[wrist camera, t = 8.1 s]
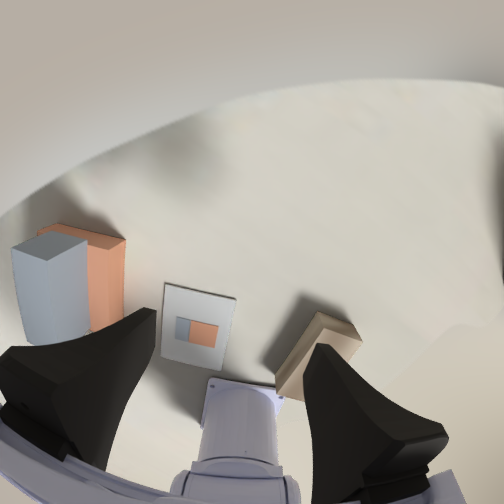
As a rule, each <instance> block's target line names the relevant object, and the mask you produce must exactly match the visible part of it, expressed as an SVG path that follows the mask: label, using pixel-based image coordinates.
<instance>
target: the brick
mask: <svg viewBox="0 0 504 504" xmlns="http://www.w3.org/2000/svg"><path fill="white" fill-rule="evenodd" d="M316 343H324V344H329V345H330V346H332V347H333V348H334V349H335V350H336V351H337V352H338V354H339V355H340V356H341V357H342V358H343V359H344V360H345V361H346V362H347V363H348V362H349V360H350V359H351V358H352V356H353V355H354V354H355V352H356V351H357V350H358V348H359V347H360V346H361V344H362V343H363V341H362V339H361V337H360V335H359V334H358V332H357V330H356V328H355V327H354V325H352V324H349V323H347V322H344V321H341V320H339V319H336V318H334V317H331V316H329V315H326V314H324V313H321V312H319V311H317V312H316V314H315V315H314V317H313V319H312V320H311V322H310V323H309V325H308V327H307V328H306V330H305V331H304V333H303V334H302V336H301V337H300V339H299V340H298V342H297V343H296V345H295V346H294V348H293V349H292V351H291V352H290V354H289V355H288V357H287V358H286V360H285V361H284V363H283V364H282V365H281V367H280V368H279V370H278V371H277V372H276V374H275V385H276V394H277V395H280V396H284V397H288V398H292V399H295V400H299V401H304V402H305V399H304V394H303V373H304V371H305V369H306V366H307V364H308V362H309V359H310V357H311V355H312V352H313V350H314V348H315V345H316Z"/></svg>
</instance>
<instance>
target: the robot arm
mask: <svg viewBox="0 0 504 504" xmlns="http://www.w3.org/2000/svg"><path fill="white" fill-rule="evenodd" d="M156 313H157V311H156V310H153V309H149V308H145V307H143V308H141V309H139V310H137V311H136V312H134V313H132V314H130V315H128V316H127V317H125V318H123V319H121V320H119V321H117V322H115V323H114V324H111V325H109V326H107V327H105V328H103V329H101V330H98V331H96V332H94V333H91V334H88V335H86V336H83V337H80V338H76V339H73V340H68V341H64V342H60V343H55V344H48V345H39V346H11V347H10V348H9V349H8V350H6V351H5V352H4V353H3V354H2V355H1V356H0V390H1V392H2V394H3V396H4V398H5V400H6V401H7V402H6V403H5V404H4V406H2V405H1V403H0V475H1V476H3V477H4V478H5V479H6V480H7V481H9V482H10V483H11V484H13V485H14V486H15V487H17V488H18V489H19V490H20V491H22V492H23V493H25V494H26V495H27V496H29V497H30V498H32V499H33V500H34V501H36V502H37V503H39V504H301V495H300V489H299V485H298V483H297V481H296V480H294V479H293V478H292V477H291V476H289V475H287V476H283V471H282V470H283V469H282V466H278V449H277V430H276V417H277V415H278V413H279V411H280V409H281V407H282V404H283V402H284V400H285V398H286V397H284V396H280V395H277V394H276V388H273V387H265V386H259V385H252V384H246V383H240V382H234V381H229V380H224V379H219V378H213V377H212V378H210V379H209V381H208V386H207V391H206V397H205V403H204V408H203V414H202V420H201V426H200V428H201V429H202V430H203V434H202V439H201V444H200V450H199V455H198V461H193V462H192V466H191V471H189V470H183V471H181V472H180V473H179V474H178V475H176V476H175V478H174V480H173V482H172V485H171V488H170V493H168V492H164V491H160V490H157V489H153V488H150V487H146V486H143V485H140V484H137V483H134V482H131V481H128V480H125V479H123V478H120V477H117V476H115V475H112V474H110V473H107V472H105V471H106V466H107V462H108V458H109V454H110V451H111V447H112V444H113V441H114V437H115V434H116V431H117V428H118V425H119V422H120V420H121V417H122V414H123V412H124V409H125V406H126V404H127V402H128V400H129V398H130V396H131V394H132V392H133V391H134V389H135V387H136V385H137V383H138V382H139V380H140V378H141V376H142V374H143V373H144V371H145V369H146V367H147V365H148V363H149V361H150V358H151V356H152V353H153V351H154V348H155V334H156ZM212 385H214V386H212ZM303 394H304V399H305V405H306V410H307V415H308V420H309V425H310V430H311V437H312V450H313V486H312V487H313V488H312V499H311V504H466V502H465V499H464V497H463V494H462V492H461V490H460V488H459V485H458V483H457V481H456V479H455V477H454V474H453V472H452V470H451V469H449V470H446V471H444V472H441V473H438V474H436V475H433V476H432V477H430V478H428V479H427V477H426V473H428V472H429V468H428V466H427V464H428V463H429V462H431V461H432V460H433V459H434V458H435V457H436V456H437V455H438V454H439V453H440V452H441V451H442V450H443V449H444V448H445V446H446V445H447V443H448V440H449V437H448V435H447V433H446V431H445V429H444V427H443V426H442V424H441V423H438V422H435V421H432V420H429V419H426V418H423V417H421V416H419V415H417V414H414V413H412V412H410V411H408V410H406V409H404V408H403V407H401V406H399V405H397V404H396V403H394V402H392V401H391V400H389V399H388V398H386V397H385V396H384V395H382V394H381V393H380V392H378V391H377V390H376V389H374V388H373V387H372V386H371V385H370V384H369V383H367V382H366V381H365V380H364V379H363V378H362V377H361V376H360V375H359V374H358V373H357V372H356V371H355V370H354V369H353V368H352V367H351V366H350V365H349V364H348V363H347V362H346V361H345V360H344V359H343V358H342V357H341V356H340V355H339V354H338V352H337V351H336V350H335V349H334V348H333V347H332V346H330V345H329V344H324V343H316V345H315V348H314V350H313V352H312V355H311V357H310V359H309V362H308V364H307V366H306V369H305V371H304V373H303Z"/></svg>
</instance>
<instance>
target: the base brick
mask: <svg viewBox="0 0 504 504" xmlns="http://www.w3.org/2000/svg"><path fill="white" fill-rule="evenodd" d="M49 231H56V232H59V233H63V234H67V235H71V236H75V237H78V238H82V239H86V240H88V241H87V276H88V299H89V312H90V323H91V328H90V329H89V330H91V331H94V332H96V331H98V330H101V329H103V328H105V327H107V326H109V325H111V324H114V323H115V322H117V321H119V320H121V319H123V318H124V314H123V291H124V261H125V244H126V240H125V239H120V238H116V237H112V236H107V235H103V234H99V233H95V232H91V231H86V230H82V229H78V228H74V227H70V226H66V225H62V224H58V223H56V224H54V225H51V226H48V227H46V228H43V229H40V230H38V231H37V236H39V235H42V234H44V233H47V232H49Z"/></svg>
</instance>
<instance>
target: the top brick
mask: <svg viewBox="0 0 504 504" xmlns="http://www.w3.org/2000/svg"><path fill="white" fill-rule="evenodd" d="M87 241H88V240H86V239H82V238H78V237H75V236H71V235H67V234H63V233H59V232H56V231H49V232H47V233H44V234H42V235H39V236H37V237H35V238H32V239H30V240H27V241H25V242H23V243H21V244H18V245H16V246H14V247H12V248H11V254H12V264H13V273H14V280H15V287H16V293H17V299H18V304H19V309H20V314H21V318H22V323H23V327H24V331H25V335H26V339H27V342H29V343H31V344H33V345H35V346H39V345H48V344H55V343H60V342H64V341H68V340H73V339H76V338H80V337H82V336H83V335H84V334H85V333H86V332H87V331H88V330H89V329H90V328H91V323H90V312H89V299H88V276H87Z"/></svg>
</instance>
